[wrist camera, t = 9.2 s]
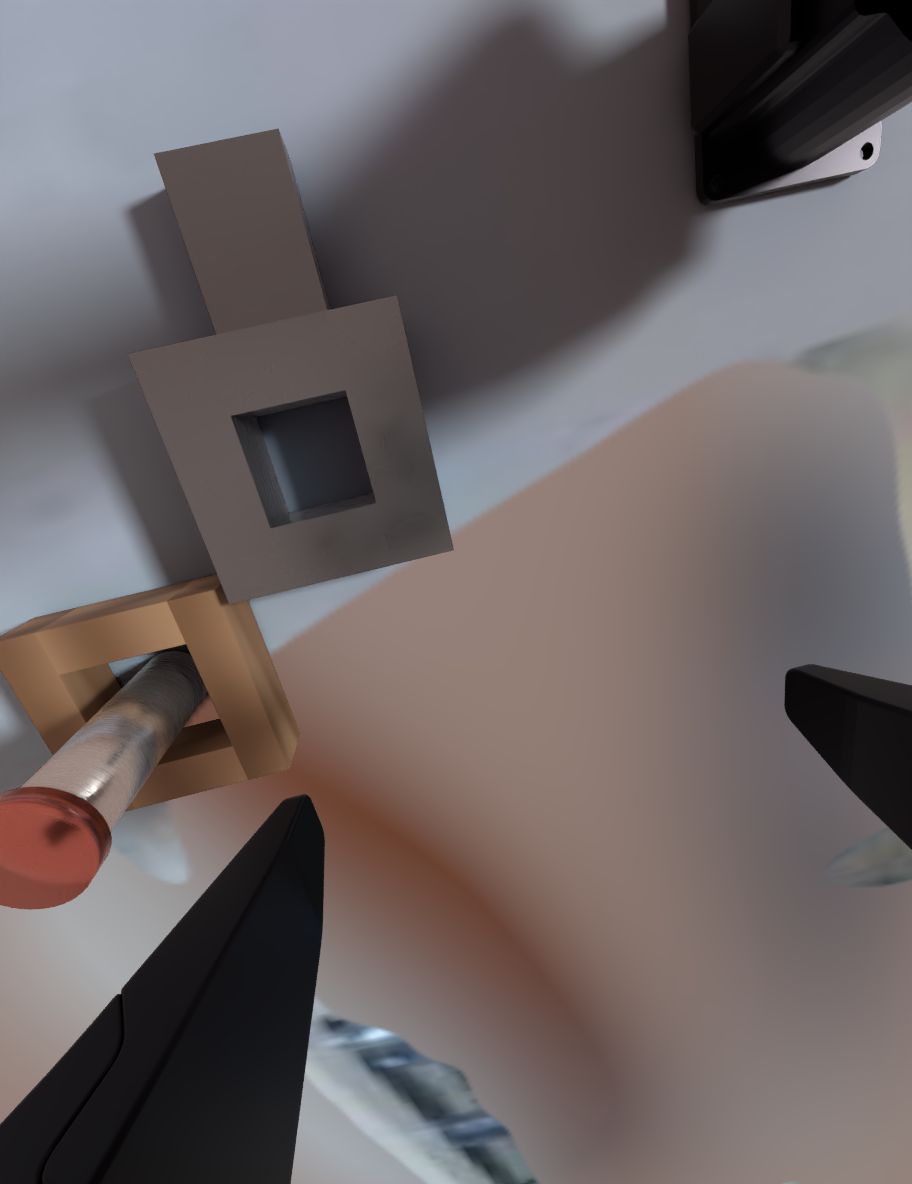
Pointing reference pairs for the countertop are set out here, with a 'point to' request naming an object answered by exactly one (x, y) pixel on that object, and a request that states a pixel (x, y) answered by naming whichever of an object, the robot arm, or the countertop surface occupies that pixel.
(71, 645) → the frame
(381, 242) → the countertop surface
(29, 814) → the hitch pin
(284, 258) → the block
